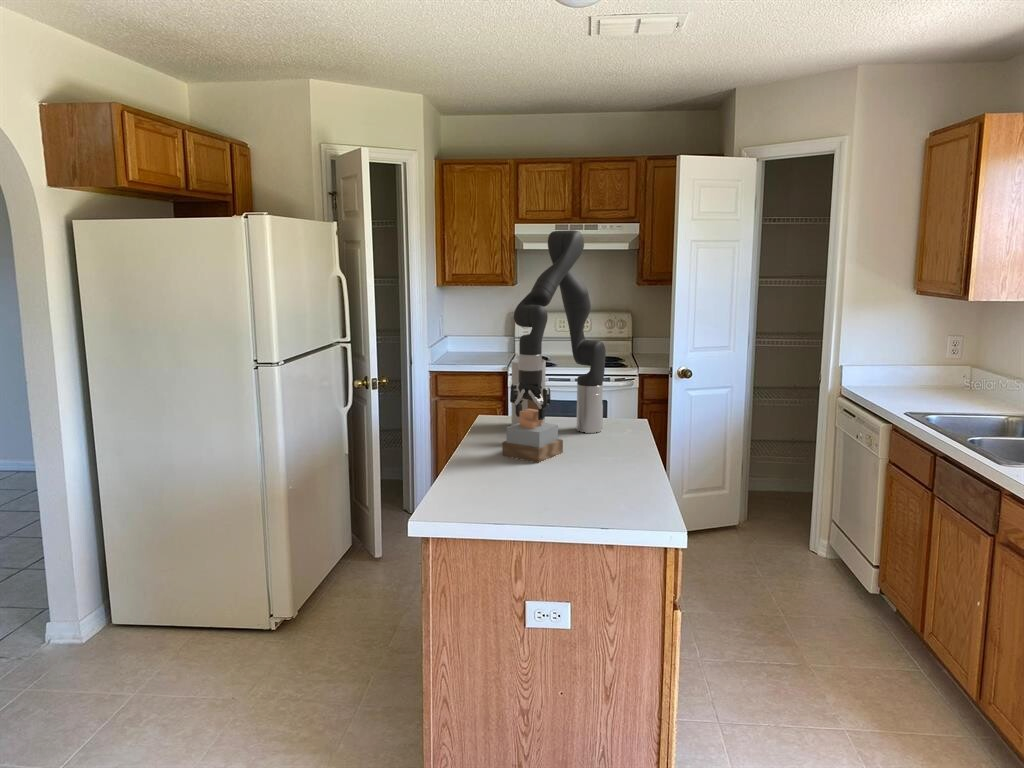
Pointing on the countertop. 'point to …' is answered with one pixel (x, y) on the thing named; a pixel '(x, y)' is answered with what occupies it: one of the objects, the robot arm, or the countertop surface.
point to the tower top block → (532, 435)
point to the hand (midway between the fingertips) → (530, 418)
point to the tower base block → (532, 451)
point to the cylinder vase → (515, 381)
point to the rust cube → (529, 418)
